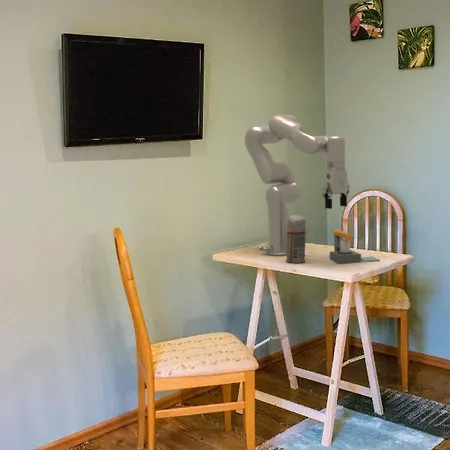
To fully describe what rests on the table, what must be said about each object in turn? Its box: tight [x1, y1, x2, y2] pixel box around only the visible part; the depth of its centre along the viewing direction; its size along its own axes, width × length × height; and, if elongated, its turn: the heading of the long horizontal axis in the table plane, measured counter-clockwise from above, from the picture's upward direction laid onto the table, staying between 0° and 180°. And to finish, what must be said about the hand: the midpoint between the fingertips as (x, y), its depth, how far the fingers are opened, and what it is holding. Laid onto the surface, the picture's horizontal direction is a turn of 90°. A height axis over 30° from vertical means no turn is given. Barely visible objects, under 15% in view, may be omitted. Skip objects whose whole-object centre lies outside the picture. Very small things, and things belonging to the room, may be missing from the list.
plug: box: [339, 238, 351, 254], centre depth 284 cm, size 5×5×9 cm
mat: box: [361, 256, 381, 263], centre depth 285 cm, size 7×7×1 cm
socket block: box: [329, 249, 362, 265], centre depth 284 cm, size 10×10×4 cm
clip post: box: [333, 235, 342, 251], centre depth 292 cm, size 5×5×10 cm
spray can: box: [285, 214, 307, 264], centre depth 284 cm, size 8×8×20 cm
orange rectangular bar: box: [333, 229, 352, 242], centre depth 286 cm, size 14×4×3 cm, turn 13°
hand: (336, 207), depth 278 cm, fingers open, 9 cm apart
